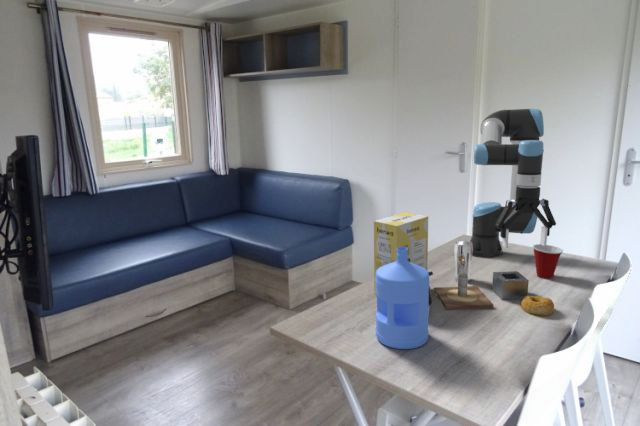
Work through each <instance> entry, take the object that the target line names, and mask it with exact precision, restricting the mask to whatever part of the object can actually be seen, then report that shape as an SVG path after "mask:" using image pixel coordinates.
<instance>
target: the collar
mask: <svg viewBox="0 0 640 426" xmlns="http://www.w3.org/2000/svg"><path fill="white" fill-rule="evenodd" d="M529 282H530V280H529V279H527V277H526V276H524V275H522V273H520V272H519V271H518V270H517V271H515V270H514V271H493V272H492V284H491V286H492V287H491V290H492V291H493V293H495V294H496V296H497V297H498V298H499V299H500V300H501V301H503V300H504V301H510V300H511V301H512V300H514V301H515V300H524V299H523V298H524V297H526V296H529V294H528V292H529V284H530V283H529Z"/></svg>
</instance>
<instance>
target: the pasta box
mask: <svg viewBox="0 0 640 426" xmlns="http://www.w3.org/2000/svg"><path fill="white" fill-rule="evenodd" d="M428 245H429V216H428V215H424V214H423V215H422V214H417V213H411V212H407V211H405V212H402V213H398V214H394V215H391V216H387V217H384V218H380V219H376V220H373V266H374V267H373V268H374V271H373V275H374V277H373V279H374V280H373V283H374V286H373V287H374V288H373V289H374V290H373V291H374V294H375V295H376V285H375V277H376V271H377V269H378V268H380V267H381V266H384V265H387V264H390V263H393V262H396V261H397V248H398V247H406V248H408V251H407V254H408V259H407V260H408V262H410V263H413V264H415V265H418V266H421V267H423V268H425V269H426V270H427V271H428V260H429V259H428V252H429V251H428V249H429V248H428V247H429V246H428Z"/></svg>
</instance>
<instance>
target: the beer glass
mask: <svg viewBox="0 0 640 426" xmlns="http://www.w3.org/2000/svg"><path fill="white" fill-rule="evenodd" d="M472 244H473V243H472V242H470V240H469V241H468V240H457V241H455V242H454V248H453V258H454V259H453V260H454V265H455V272H454V273H455V274H454V280H455V281H457V282H458V275H459V273H461V272H465V273H466V274H467V275H468V282H471V274H470V273H471V271H470V270H471V265H472V262H473V256H474V255H473V245H472Z"/></svg>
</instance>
